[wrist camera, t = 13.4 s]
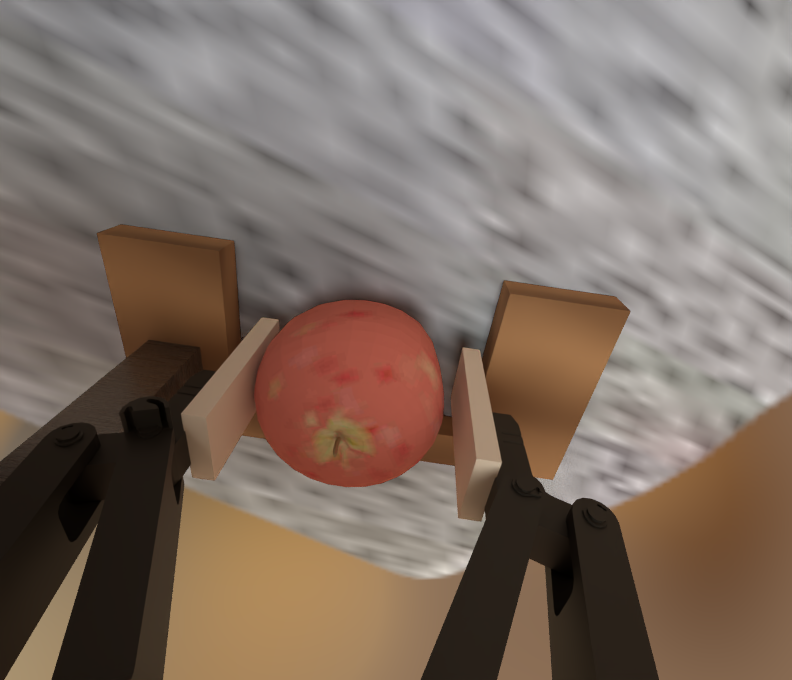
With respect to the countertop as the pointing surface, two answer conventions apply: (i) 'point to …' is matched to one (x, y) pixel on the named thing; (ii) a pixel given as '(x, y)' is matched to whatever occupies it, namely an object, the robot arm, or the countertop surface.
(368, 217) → the countertop surface
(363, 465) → the apple
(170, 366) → the hook post
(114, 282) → the brown u-shaped bracket
